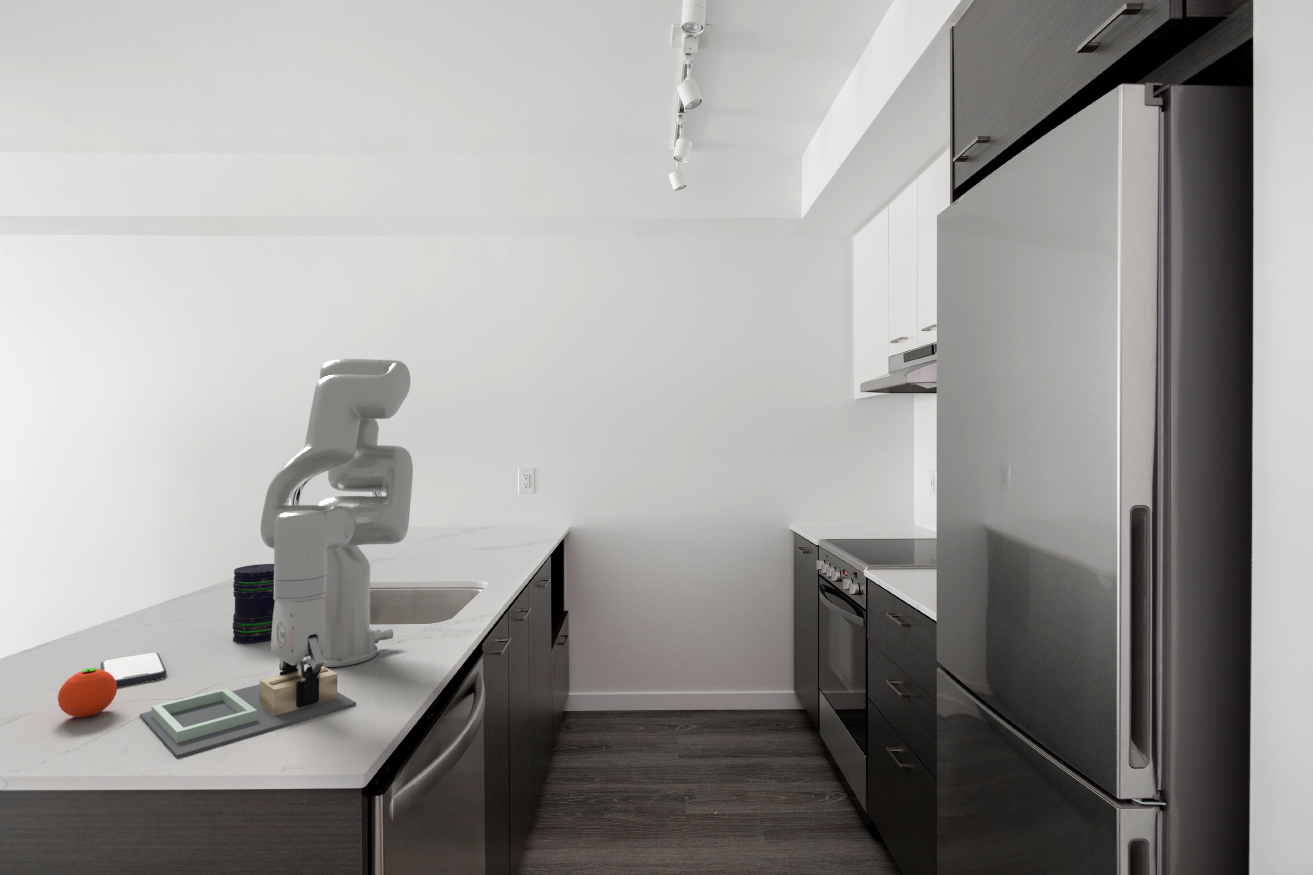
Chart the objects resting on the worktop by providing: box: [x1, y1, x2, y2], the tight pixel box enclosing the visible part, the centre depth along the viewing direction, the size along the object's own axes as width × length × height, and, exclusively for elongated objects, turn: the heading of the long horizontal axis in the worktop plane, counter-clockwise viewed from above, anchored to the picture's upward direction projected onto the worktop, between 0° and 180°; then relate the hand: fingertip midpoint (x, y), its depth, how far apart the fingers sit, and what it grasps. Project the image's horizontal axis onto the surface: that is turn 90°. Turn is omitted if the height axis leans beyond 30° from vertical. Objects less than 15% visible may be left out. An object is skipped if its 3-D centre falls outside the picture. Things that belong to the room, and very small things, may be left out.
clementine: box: [57, 667, 118, 718], centre depth 101 cm, size 8×7×7 cm
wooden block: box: [259, 666, 338, 716], centre depth 106 cm, size 10×6×4 cm, turn 139°
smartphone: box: [100, 652, 167, 688], centre depth 120 cm, size 9×2×16 cm
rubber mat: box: [139, 683, 357, 759], centre depth 103 cm, size 24×20×1 cm
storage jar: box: [232, 563, 275, 645], centre depth 142 cm, size 10×10×15 cm
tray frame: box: [151, 687, 257, 743], centre depth 99 cm, size 10×14×2 cm
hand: (298, 698), depth 106 cm, fingers closed on wooden block, 6 cm apart
